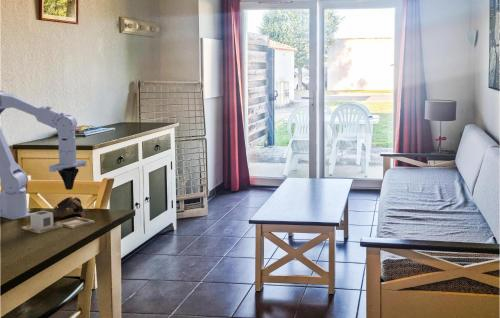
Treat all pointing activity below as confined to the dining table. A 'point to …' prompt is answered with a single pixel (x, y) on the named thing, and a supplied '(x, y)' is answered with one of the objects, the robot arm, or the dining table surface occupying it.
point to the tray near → (42, 230)
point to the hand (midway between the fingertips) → (69, 189)
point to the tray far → (75, 222)
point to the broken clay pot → (70, 206)
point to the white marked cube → (41, 220)
